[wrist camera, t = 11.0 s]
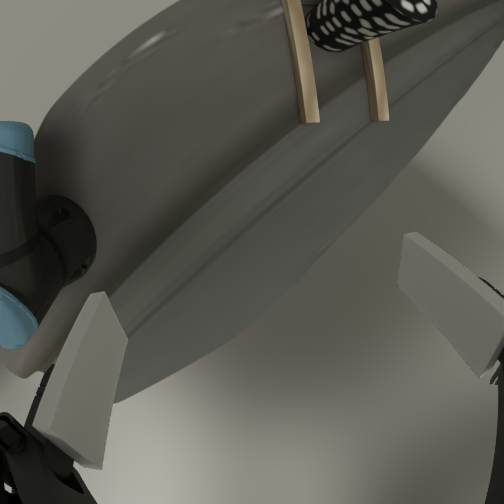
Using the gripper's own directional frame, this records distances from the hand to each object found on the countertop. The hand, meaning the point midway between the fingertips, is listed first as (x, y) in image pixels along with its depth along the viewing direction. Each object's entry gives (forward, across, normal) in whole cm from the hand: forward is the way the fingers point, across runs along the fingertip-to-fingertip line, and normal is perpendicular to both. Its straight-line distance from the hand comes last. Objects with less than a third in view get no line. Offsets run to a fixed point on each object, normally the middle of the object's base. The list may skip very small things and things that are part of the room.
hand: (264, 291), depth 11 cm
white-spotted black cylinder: (+32, +19, +20) cm, 42 cm away
